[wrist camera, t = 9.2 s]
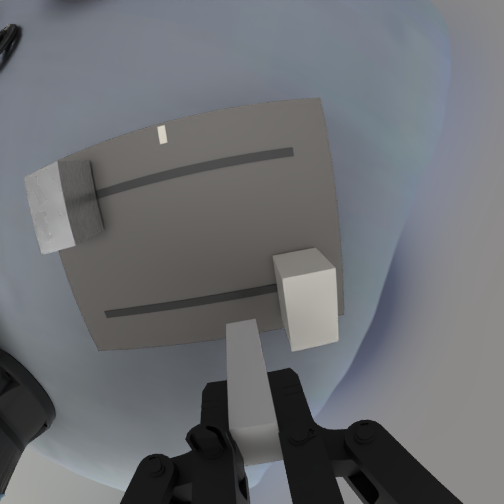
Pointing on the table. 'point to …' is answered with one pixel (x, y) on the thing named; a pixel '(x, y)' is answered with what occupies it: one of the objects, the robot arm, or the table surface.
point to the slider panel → (203, 223)
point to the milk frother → (7, 36)
